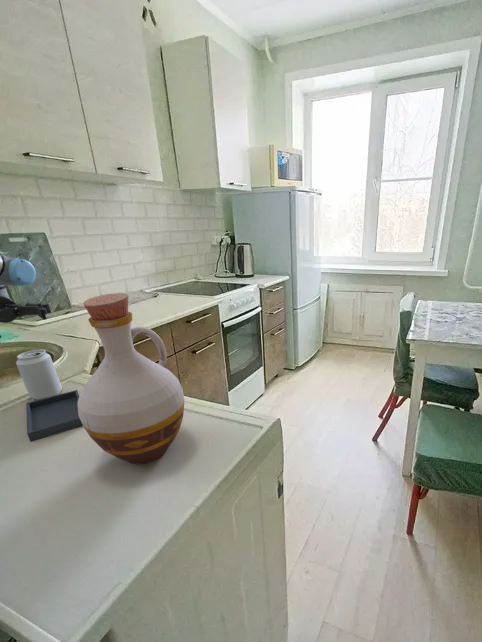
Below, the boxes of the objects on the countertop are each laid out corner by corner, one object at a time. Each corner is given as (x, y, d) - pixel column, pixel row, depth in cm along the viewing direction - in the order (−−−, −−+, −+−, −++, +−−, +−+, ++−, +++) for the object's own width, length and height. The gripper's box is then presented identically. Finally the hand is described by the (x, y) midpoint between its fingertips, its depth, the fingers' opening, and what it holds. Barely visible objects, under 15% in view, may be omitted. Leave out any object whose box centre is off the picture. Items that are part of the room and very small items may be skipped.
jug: (148, 417, 81) (114, 284, 68) (214, 429, 75) (191, 286, 62) (74, 470, 65) (11, 308, 52) (152, 491, 59) (103, 314, 46)
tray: (89, 423, 80) (86, 416, 79) (30, 441, 74) (27, 433, 73) (79, 396, 93) (77, 389, 92) (29, 410, 87) (26, 402, 86)
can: (64, 395, 94) (48, 353, 88) (30, 404, 90) (12, 360, 85) (61, 386, 99) (47, 345, 94) (30, 394, 96) (13, 352, 90)
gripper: (52, 312, 116) (70, 323, 102) (-46, 330, 101) (-41, 346, 87) (44, 289, 113) (61, 297, 99) (-59, 304, 98) (-55, 316, 84)
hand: (14, 320), depth 93 cm, fingers open, 13 cm apart
